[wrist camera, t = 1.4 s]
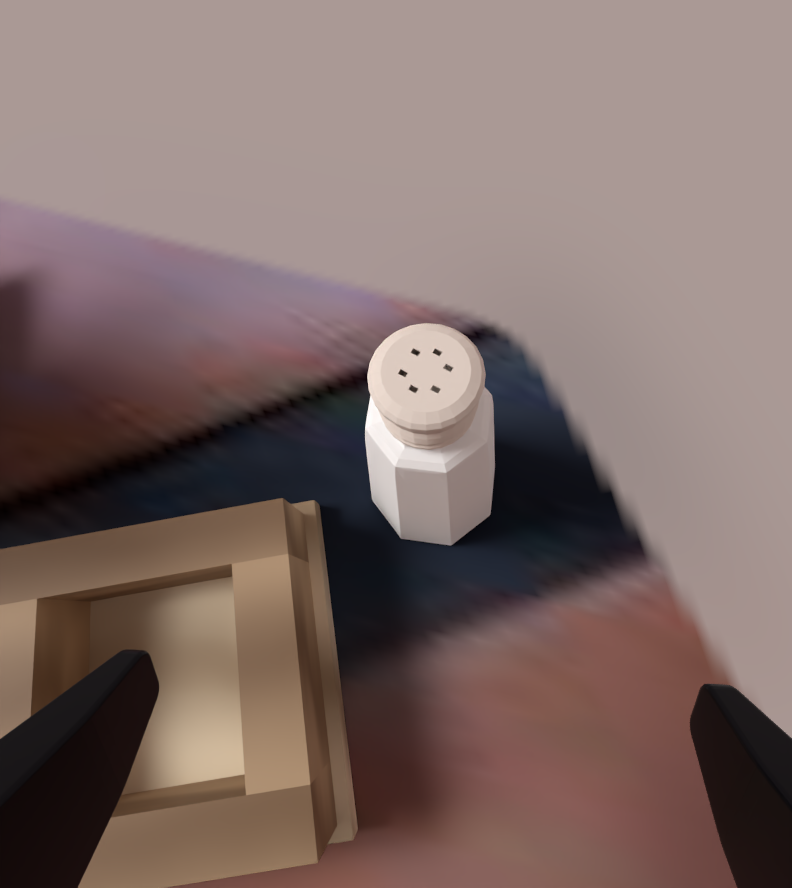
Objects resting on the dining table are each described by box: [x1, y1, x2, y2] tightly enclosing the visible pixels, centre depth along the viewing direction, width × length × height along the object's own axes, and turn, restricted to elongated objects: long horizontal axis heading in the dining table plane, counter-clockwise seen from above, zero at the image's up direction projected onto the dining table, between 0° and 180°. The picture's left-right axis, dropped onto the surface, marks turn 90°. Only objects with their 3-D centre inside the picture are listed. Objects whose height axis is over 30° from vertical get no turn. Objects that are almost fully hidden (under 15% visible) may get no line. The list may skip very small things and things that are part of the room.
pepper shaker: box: [365, 323, 495, 545], centre depth 18 cm, size 5×5×11 cm
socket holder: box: [0, 498, 358, 888], centre depth 19 cm, size 12×12×4 cm
